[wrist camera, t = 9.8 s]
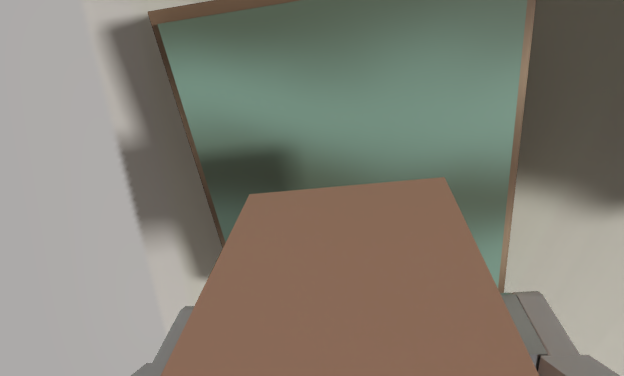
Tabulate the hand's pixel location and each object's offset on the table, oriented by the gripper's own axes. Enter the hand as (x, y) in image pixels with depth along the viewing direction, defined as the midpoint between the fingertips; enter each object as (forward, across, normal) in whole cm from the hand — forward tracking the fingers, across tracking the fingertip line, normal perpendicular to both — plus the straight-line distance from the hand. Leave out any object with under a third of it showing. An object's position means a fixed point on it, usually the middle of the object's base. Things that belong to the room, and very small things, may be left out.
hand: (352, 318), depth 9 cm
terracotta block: (+2, 0, 0) cm, 2 cm away
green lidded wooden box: (+10, 0, 0) cm, 10 cm away
